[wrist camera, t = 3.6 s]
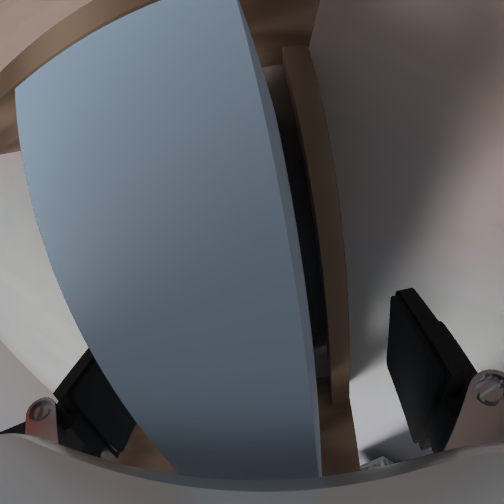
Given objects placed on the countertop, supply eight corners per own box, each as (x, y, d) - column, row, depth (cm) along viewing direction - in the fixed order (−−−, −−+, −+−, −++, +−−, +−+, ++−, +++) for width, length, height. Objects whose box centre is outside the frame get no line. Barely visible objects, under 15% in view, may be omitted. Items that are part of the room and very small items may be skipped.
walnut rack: (300, 43, 13) (314, -63, 4) (344, 384, 21) (360, 491, 12) (47, 132, 16) (-61, 148, 7) (142, 392, 24) (101, 472, 15)
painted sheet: (276, 115, 15) (230, -21, 2) (313, 350, 20) (321, 538, 7) (223, 126, 15) (14, 88, 2) (273, 355, 21) (253, 540, 8)
